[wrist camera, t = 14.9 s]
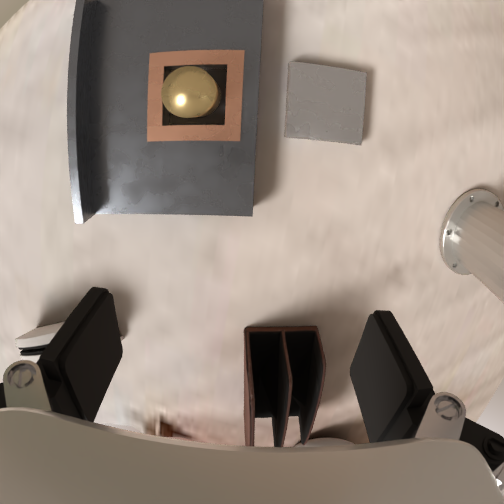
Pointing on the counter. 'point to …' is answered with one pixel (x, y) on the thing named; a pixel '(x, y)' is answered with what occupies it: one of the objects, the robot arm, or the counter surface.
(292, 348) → the letter holder
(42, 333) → the grey rounded block
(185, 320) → the counter surface
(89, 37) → the plate
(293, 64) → the gray square slab
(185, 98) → the barrel peg
